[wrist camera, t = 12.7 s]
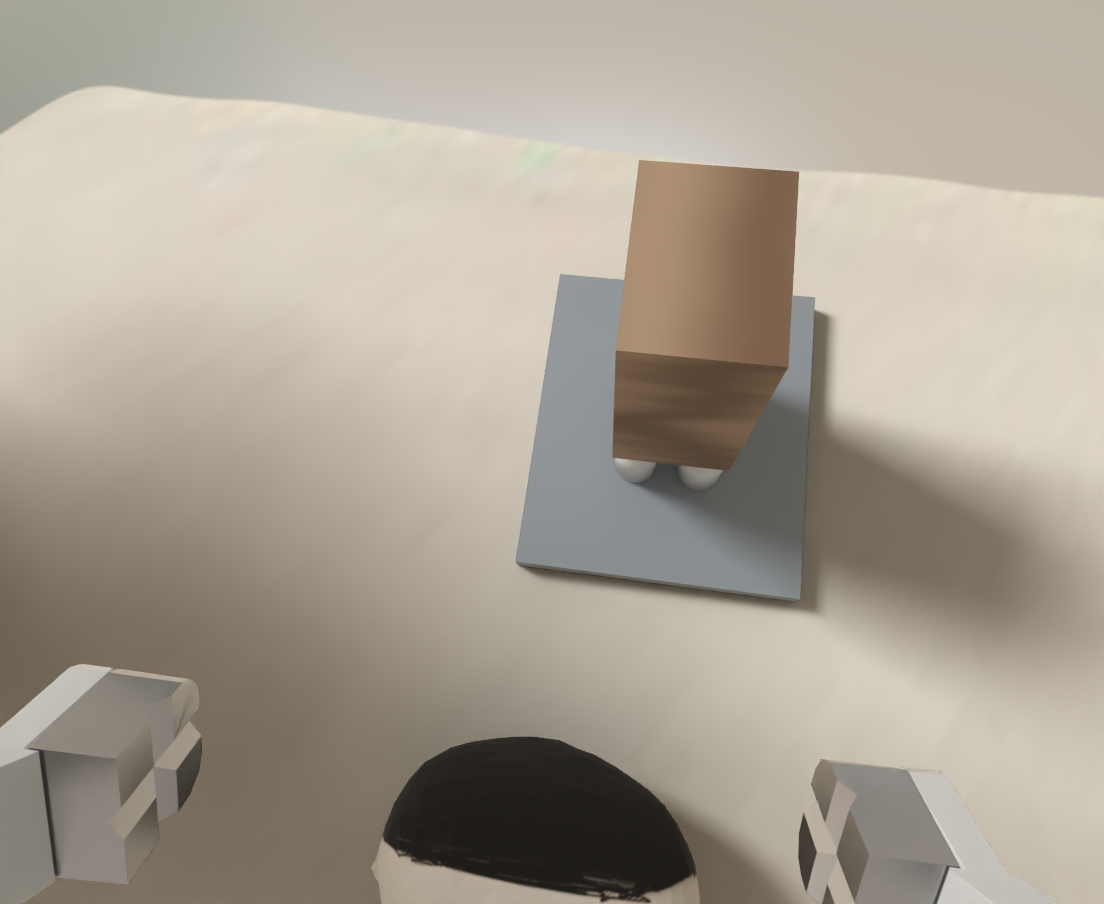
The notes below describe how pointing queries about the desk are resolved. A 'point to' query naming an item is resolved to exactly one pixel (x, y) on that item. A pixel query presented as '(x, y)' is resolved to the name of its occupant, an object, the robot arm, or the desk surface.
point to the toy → (530, 832)
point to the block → (703, 311)
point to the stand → (661, 472)
